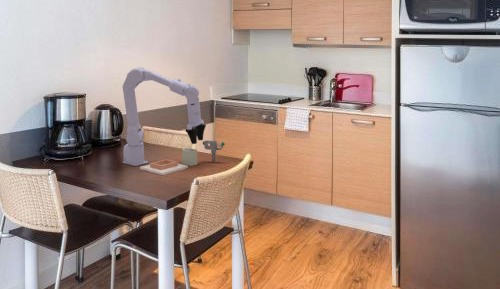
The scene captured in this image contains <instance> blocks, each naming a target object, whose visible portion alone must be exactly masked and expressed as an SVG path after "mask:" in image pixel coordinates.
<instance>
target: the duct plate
mask: <svg viewBox="0 0 500 289" xmlns="http://www.w3.org/2000/svg"><path fill="white" fill-rule="evenodd" d="M188 168H189V165H185V164H182V163H179V162H178V161H176V160H171V159H162V160H158V161H154V162H150V163H149V164H146V165H142V166H140V167H139V169H140V170H142V171H147V172H150V173H152V174H157V175H161V176H164V175H168V174H172V173H175V172H179V171H182V170H185V169H188Z"/></svg>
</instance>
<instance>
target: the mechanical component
mask: <svg viewBox="0 0 500 289" xmlns="http://www.w3.org/2000/svg"><path fill="white" fill-rule="evenodd" d="M202 145H203V146H204V149H205V150H206V151H207V150H210V154H211V162H212V163H216V153H217V151H221V150H222V149H223V148H224V146H225V145H226V144H225V141H221V142H220V143H219V144H218V141H217V140H202Z"/></svg>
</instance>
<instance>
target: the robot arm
mask: <svg viewBox="0 0 500 289" xmlns="http://www.w3.org/2000/svg"><path fill="white" fill-rule="evenodd" d="M147 81H149V82H150V81H153V82H156V83H158V84H161V85H164V86H166V87H168V88H169V91H171V92H173V93H175V94H178V95H180V96H182V97H185V98H186V103H187V104H186V107H187V116H188V117H187V118H188V124H187V125H186V128H185V132H186V133H187V135H188V137H189V140H190V143H191V144H192V145H196V144H198V143H197V142H198V141H204V133H205V129H206V126H207V125H206V124H205V121H204V119H202V116H201V115H202V114H201V105H200V104H201V103H200V98H199V94H200V90H199V88H197V87H196V86H195V85H191V83H185V82H183V81H182V80H181V79H180V78H178V79H176V78H174V79H172V80H171V79H170V78H167V77H166V76H163V75H162V74H159V73H157V72H154V71H153V70H150V69H146V68H144V67H136V68H133V69H131V70H130V71H129V72H128V73H126V78H125V80H124V82H123V85H122V92H123V94H122V95H123V100H124V108H125V114H126V120H127V129H126V133H127V134H126V137H125V141H126V142H127V143H126V144H125V145H124V146H123V149H122V150H123V161H122V163H123V164H126V165H130V166H133V167H135V166H136V167H137V166H141V165H144V164H148V163H149V161H147V160H145V149H144V148H145V146H144V142H143V140H144V139H145V133H144V131H143V129H142V126H141V124H140V120H139V113H138V106H137V99H136V91H135V89H137V87H138V86H139V85H140V84H142V83H143V82H147Z"/></svg>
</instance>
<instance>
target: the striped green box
mask: <svg viewBox="0 0 500 289" xmlns="http://www.w3.org/2000/svg"><path fill="white" fill-rule="evenodd" d="M181 164H182V165H186V166H188V167H192V166H193V167H194V166H197V165H198V149H196V148H190V147H186V148H182V149H181Z"/></svg>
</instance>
